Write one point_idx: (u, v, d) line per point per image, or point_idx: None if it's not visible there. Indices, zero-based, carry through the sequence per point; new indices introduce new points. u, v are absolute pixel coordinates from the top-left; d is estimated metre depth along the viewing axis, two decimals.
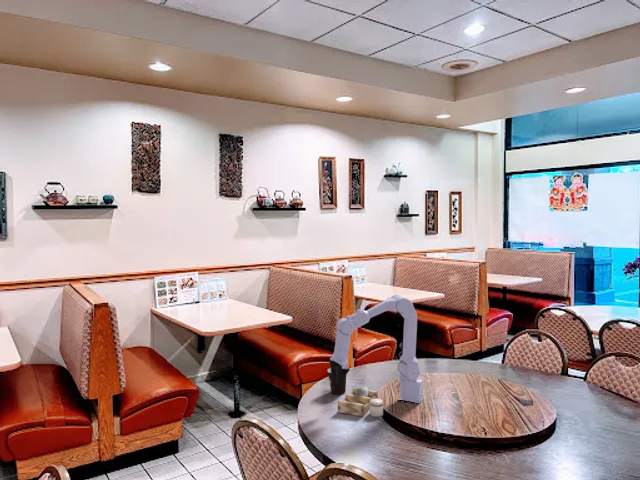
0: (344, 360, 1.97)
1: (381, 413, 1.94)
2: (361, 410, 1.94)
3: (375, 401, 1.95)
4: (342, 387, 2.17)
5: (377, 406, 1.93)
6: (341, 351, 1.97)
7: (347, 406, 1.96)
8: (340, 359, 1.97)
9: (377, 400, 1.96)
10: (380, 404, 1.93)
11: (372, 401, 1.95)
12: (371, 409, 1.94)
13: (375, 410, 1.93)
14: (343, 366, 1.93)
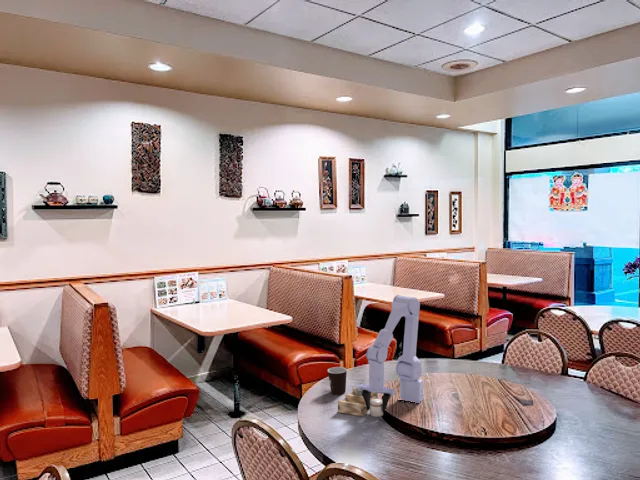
0: (383, 387, 1.95)
1: (381, 413, 1.94)
2: (361, 410, 1.94)
3: (375, 401, 1.95)
4: (342, 387, 2.17)
5: (377, 406, 1.93)
6: (382, 380, 1.93)
7: (347, 406, 1.96)
8: (382, 388, 1.93)
9: (377, 400, 1.96)
10: (380, 404, 1.93)
11: (372, 401, 1.95)
12: (371, 409, 1.94)
13: (375, 410, 1.93)
14: (393, 393, 1.91)
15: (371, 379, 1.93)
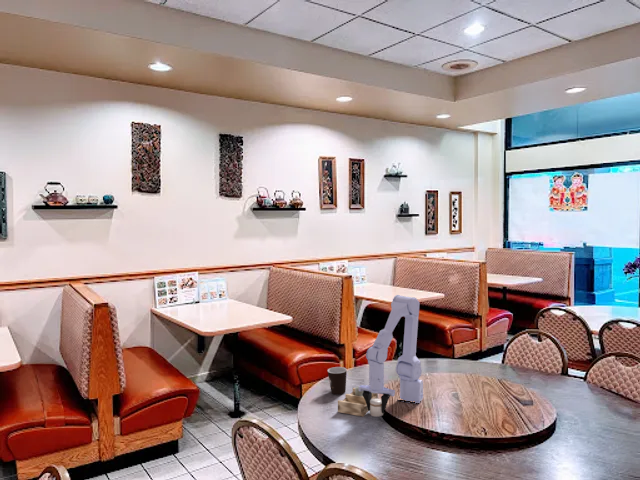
0: (383, 387, 1.95)
1: (381, 413, 1.94)
2: (361, 410, 1.94)
3: (375, 400, 1.95)
4: (342, 387, 2.17)
5: (377, 406, 1.93)
6: (382, 380, 1.93)
7: (347, 406, 1.96)
8: (382, 388, 1.93)
9: (377, 400, 1.96)
10: (380, 404, 1.93)
11: (372, 401, 1.95)
12: (371, 409, 1.94)
13: (375, 410, 1.93)
14: (393, 394, 1.91)
15: (371, 380, 1.93)
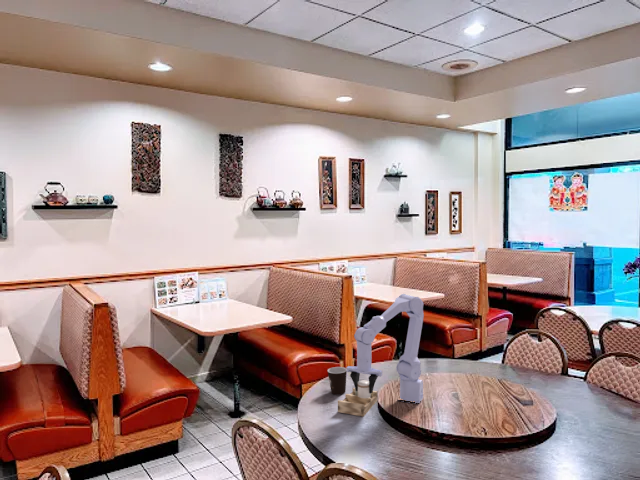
0: (371, 368, 1.97)
1: (369, 394, 1.96)
2: (361, 410, 1.94)
3: (363, 382, 1.97)
4: (342, 387, 2.17)
5: (365, 387, 1.95)
6: (369, 361, 1.95)
7: (347, 406, 1.96)
8: (370, 369, 1.95)
9: (365, 381, 1.98)
10: (368, 385, 1.95)
11: (360, 382, 1.97)
12: (359, 390, 1.96)
13: (363, 391, 1.95)
14: (380, 374, 1.94)
15: (359, 360, 1.95)
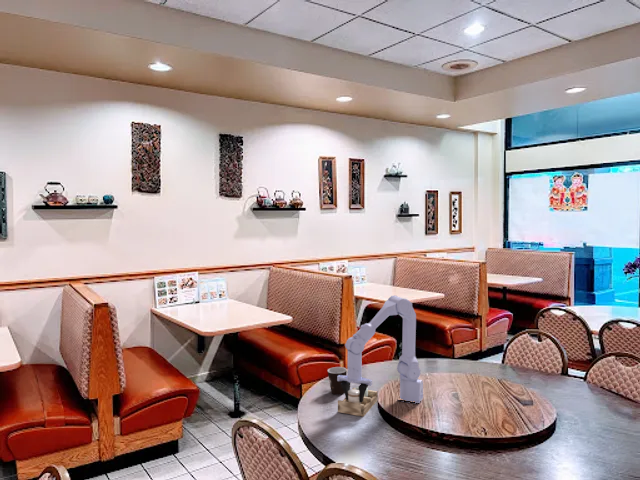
0: (361, 377, 1.99)
1: (359, 403, 1.98)
2: (361, 410, 1.94)
3: (353, 391, 2.00)
4: None
5: (355, 397, 1.97)
6: (360, 370, 1.97)
7: (347, 406, 1.96)
8: (360, 378, 1.98)
9: (355, 390, 2.00)
10: (358, 394, 1.97)
11: (350, 391, 1.99)
12: (349, 399, 1.98)
13: (353, 400, 1.97)
14: (370, 383, 1.96)
15: (349, 370, 1.98)
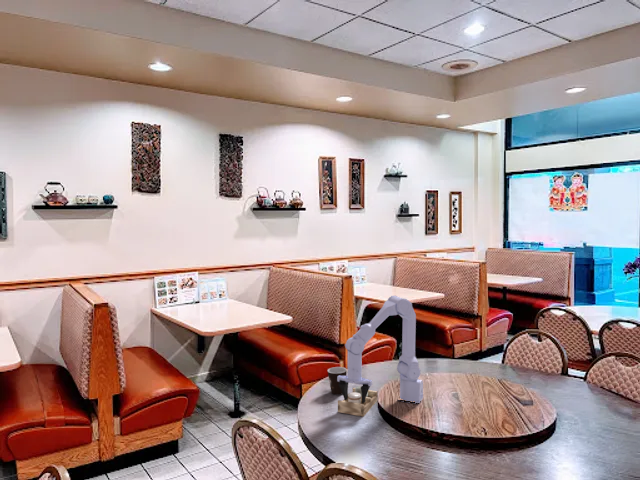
0: (361, 378, 1.99)
1: None
2: (361, 410, 1.94)
3: (353, 394, 2.00)
4: None
5: (355, 400, 1.97)
6: (360, 370, 1.97)
7: (347, 406, 1.96)
8: (360, 378, 1.98)
9: (355, 394, 2.00)
10: (358, 397, 1.97)
11: (350, 394, 1.99)
12: None
13: None
14: (370, 384, 1.96)
15: (349, 370, 1.98)
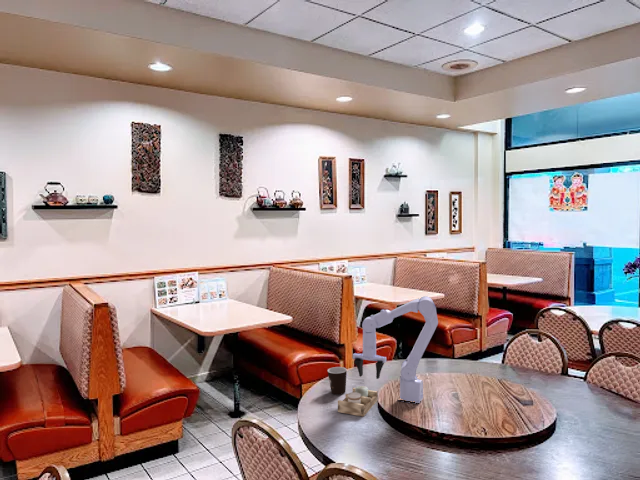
0: (376, 355, 2.10)
1: None
2: (361, 410, 1.94)
3: (353, 394, 2.00)
4: (342, 387, 2.17)
5: (355, 400, 1.97)
6: (374, 348, 2.09)
7: (347, 406, 1.96)
8: (374, 355, 2.09)
9: (355, 393, 2.00)
10: (358, 397, 1.97)
11: (350, 394, 1.99)
12: None
13: None
14: (385, 360, 2.07)
15: (364, 347, 2.09)
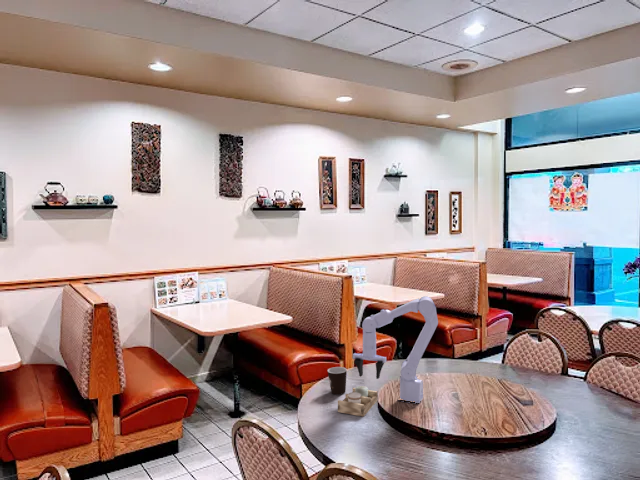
0: (376, 355, 2.10)
1: None
2: (361, 410, 1.94)
3: (353, 394, 2.00)
4: (342, 387, 2.17)
5: (355, 399, 1.97)
6: (374, 348, 2.09)
7: (347, 406, 1.96)
8: (374, 355, 2.09)
9: (355, 393, 2.00)
10: (358, 397, 1.98)
11: (350, 394, 1.99)
12: None
13: None
14: (385, 360, 2.07)
15: (364, 347, 2.09)
